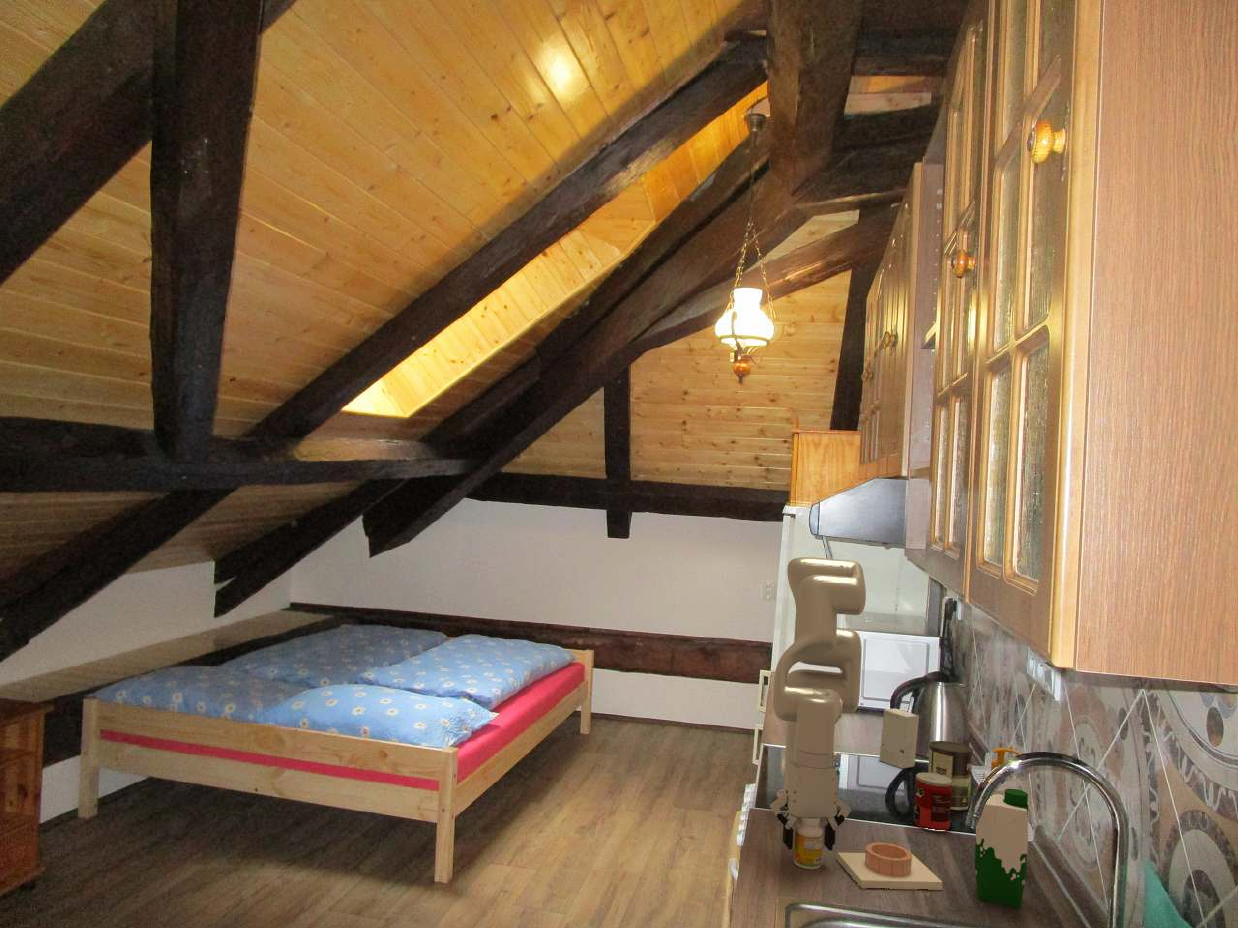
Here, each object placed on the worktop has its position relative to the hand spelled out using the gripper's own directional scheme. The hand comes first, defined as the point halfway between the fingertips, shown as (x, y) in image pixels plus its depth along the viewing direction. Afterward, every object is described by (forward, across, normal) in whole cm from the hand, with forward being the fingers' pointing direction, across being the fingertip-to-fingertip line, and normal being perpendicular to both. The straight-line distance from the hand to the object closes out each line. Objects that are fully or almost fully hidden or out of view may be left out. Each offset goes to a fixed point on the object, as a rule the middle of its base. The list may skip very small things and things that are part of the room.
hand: (808, 846), depth 177 cm
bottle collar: (+2, -15, +4) cm, 16 cm away
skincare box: (+4, -50, -71) cm, 87 cm away
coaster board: (+3, -15, +4) cm, 16 cm away
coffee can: (+4, -49, -39) cm, 63 cm away
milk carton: (+4, -33, +13) cm, 36 cm away
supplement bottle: (+4, 0, 0) cm, 4 cm away
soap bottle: (+4, -43, -5) cm, 43 cm away
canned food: (+4, -37, -23) cm, 44 cm away
